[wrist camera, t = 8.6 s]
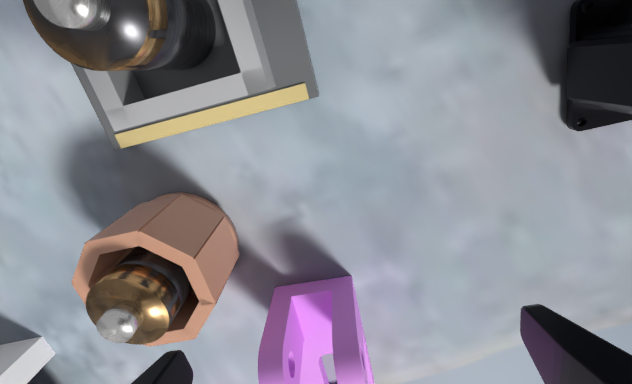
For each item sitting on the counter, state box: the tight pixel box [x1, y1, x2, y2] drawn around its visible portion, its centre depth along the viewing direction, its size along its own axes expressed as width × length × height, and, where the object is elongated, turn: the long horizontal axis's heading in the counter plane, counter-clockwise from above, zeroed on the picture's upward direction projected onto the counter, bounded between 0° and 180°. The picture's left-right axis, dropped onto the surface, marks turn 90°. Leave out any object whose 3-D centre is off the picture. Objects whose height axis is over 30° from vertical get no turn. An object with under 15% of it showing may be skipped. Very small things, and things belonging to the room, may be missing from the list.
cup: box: [72, 192, 239, 346], centre depth 19 cm, size 7×7×5 cm
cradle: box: [71, 0, 319, 150], centre depth 15 cm, size 12×10×3 cm
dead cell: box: [86, 246, 193, 344], centre depth 17 cm, size 4×4×7 cm
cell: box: [23, 0, 216, 71], centre depth 12 cm, size 4×4×7 cm
